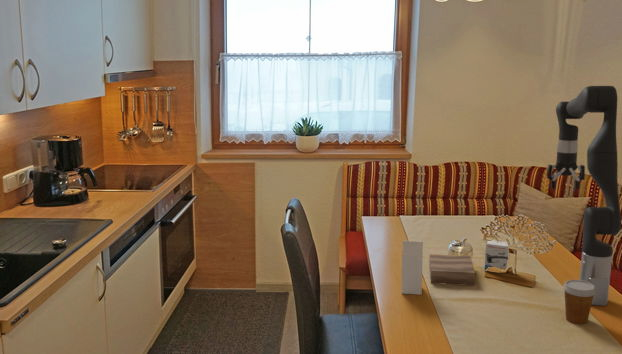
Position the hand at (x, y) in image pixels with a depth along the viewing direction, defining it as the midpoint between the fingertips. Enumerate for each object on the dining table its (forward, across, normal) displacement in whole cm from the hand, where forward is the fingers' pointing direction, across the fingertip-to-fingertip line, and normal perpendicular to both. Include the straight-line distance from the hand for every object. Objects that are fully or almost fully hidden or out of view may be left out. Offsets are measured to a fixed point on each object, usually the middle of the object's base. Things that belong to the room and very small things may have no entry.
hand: (564, 189), depth 234 cm
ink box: (+29, -29, -20) cm, 46 cm away
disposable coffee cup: (+30, -10, -61) cm, 68 cm away
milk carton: (+29, -62, -43) cm, 81 cm away
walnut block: (+29, -47, -26) cm, 61 cm away
